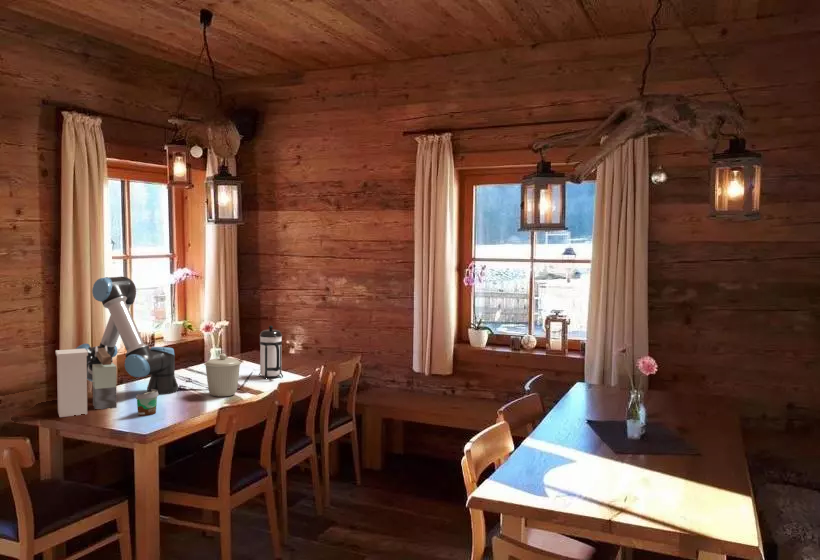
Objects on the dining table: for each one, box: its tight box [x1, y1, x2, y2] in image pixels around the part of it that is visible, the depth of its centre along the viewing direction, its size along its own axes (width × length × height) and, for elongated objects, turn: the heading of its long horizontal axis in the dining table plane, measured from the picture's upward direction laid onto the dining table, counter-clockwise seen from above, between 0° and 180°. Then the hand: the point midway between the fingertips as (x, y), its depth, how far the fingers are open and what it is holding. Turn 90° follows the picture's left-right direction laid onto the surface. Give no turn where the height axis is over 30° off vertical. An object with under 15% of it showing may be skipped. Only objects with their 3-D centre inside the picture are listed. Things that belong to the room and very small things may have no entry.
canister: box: [204, 353, 242, 398], centre depth 338 cm, size 18×18×21 cm
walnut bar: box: [96, 348, 111, 365], centre depth 313 cm, size 4×28×4 cm, turn 32°
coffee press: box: [258, 325, 284, 380], centre depth 383 cm, size 17×16×30 cm
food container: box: [135, 389, 160, 417], centre depth 300 cm, size 12×6×10 cm, turn 168°
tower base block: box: [92, 385, 118, 410], centre depth 312 cm, size 9×10×10 cm
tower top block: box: [92, 362, 117, 389], centre depth 311 cm, size 9×10×10 cm
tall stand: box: [55, 348, 88, 418], centre depth 299 cm, size 12×12×28 cm
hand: (101, 348), depth 317 cm, fingers closed on walnut bar, 3 cm apart
